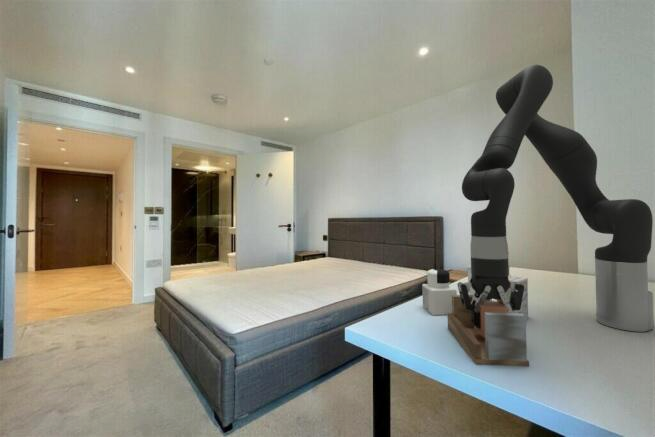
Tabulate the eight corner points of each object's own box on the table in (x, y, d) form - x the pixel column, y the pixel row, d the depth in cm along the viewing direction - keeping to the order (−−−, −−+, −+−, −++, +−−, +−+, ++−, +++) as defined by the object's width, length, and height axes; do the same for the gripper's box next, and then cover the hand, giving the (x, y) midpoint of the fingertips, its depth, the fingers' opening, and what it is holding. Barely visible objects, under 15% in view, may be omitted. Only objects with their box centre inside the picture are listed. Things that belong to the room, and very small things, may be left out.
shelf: (487, 329, 68) (486, 291, 68) (529, 366, 51) (527, 315, 51) (447, 328, 69) (446, 291, 69) (475, 363, 53) (474, 314, 53)
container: (445, 306, 87) (444, 267, 87) (457, 314, 79) (456, 272, 79) (422, 307, 86) (421, 268, 86) (432, 315, 79) (431, 272, 79)
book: (499, 329, 63) (498, 301, 63) (509, 337, 58) (508, 306, 58) (474, 329, 63) (473, 300, 63) (482, 337, 59) (481, 306, 59)
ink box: (516, 324, 71) (515, 270, 71) (496, 319, 75) (495, 268, 75) (529, 317, 75) (527, 266, 75) (509, 312, 79) (508, 264, 79)
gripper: (512, 252, 64) (514, 321, 64) (451, 253, 65) (453, 320, 65) (532, 257, 56) (535, 335, 56) (462, 258, 58) (465, 333, 58)
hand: (491, 326), depth 61 cm, fingers closed on book, 5 cm apart
